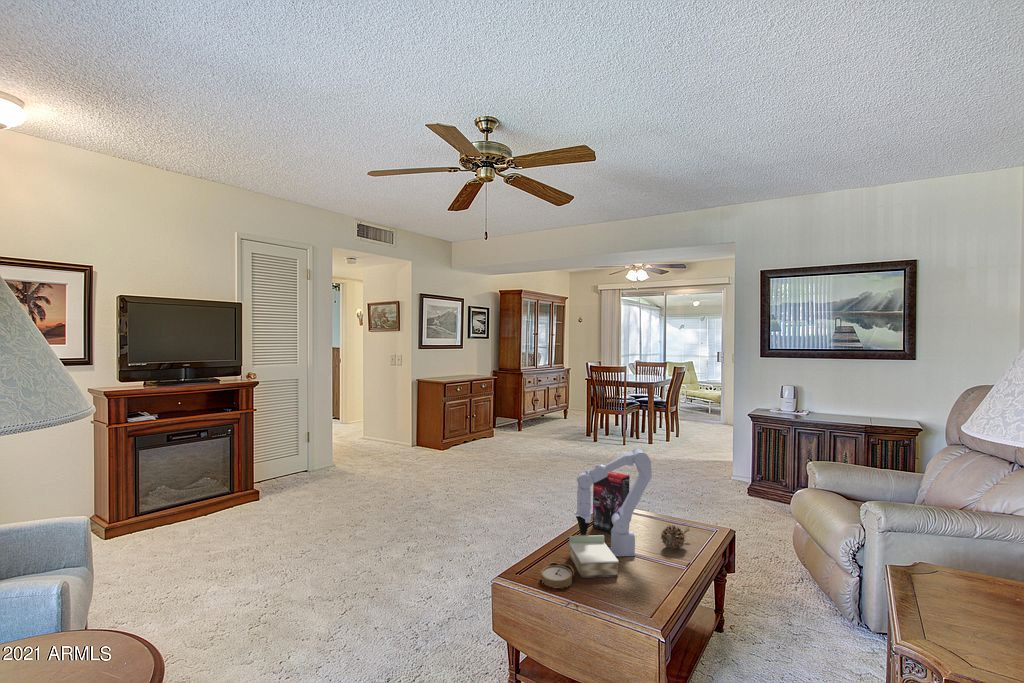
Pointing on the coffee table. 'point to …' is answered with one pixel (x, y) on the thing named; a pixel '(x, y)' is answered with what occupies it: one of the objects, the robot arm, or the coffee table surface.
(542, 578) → the alarm clock
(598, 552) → the lid
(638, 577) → the coffee table surface
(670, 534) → the pine cone
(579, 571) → the case
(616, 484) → the graphics card box
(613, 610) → the coffee table surface
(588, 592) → the coffee table surface
